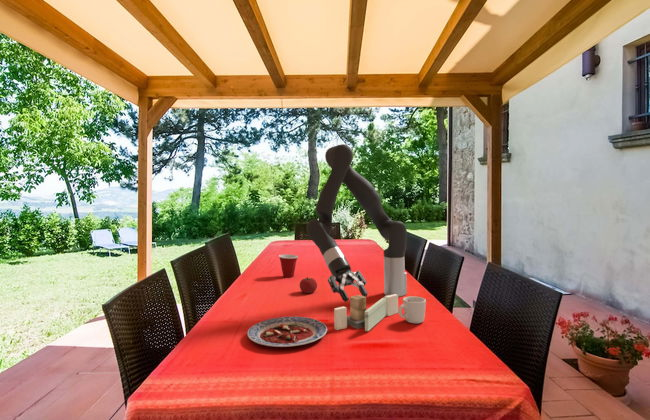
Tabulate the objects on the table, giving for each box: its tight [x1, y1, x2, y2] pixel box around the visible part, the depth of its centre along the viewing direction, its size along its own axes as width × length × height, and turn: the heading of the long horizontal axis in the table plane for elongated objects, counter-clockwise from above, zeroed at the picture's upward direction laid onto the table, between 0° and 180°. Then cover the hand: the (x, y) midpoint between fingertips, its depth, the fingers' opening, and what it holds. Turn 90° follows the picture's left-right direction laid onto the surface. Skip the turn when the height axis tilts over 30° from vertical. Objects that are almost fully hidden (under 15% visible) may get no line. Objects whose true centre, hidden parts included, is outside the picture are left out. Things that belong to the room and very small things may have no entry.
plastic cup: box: [278, 253, 299, 279], centre depth 208 cm, size 11×11×12 cm
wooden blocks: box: [333, 294, 399, 331], centre depth 134 cm, size 29×2×7 cm, turn 125°
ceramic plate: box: [247, 316, 328, 348], centre depth 121 cm, size 26×26×3 cm
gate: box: [364, 297, 387, 332], centre depth 130 cm, size 18×1×6 cm, turn 152°
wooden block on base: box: [347, 294, 367, 330], centre depth 131 cm, size 8×8×10 cm
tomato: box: [299, 277, 318, 295], centre depth 174 cm, size 8×8×7 cm
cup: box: [398, 295, 427, 324], centre depth 131 cm, size 11×8×8 cm
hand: (356, 298), depth 132 cm, fingers open, 8 cm apart
